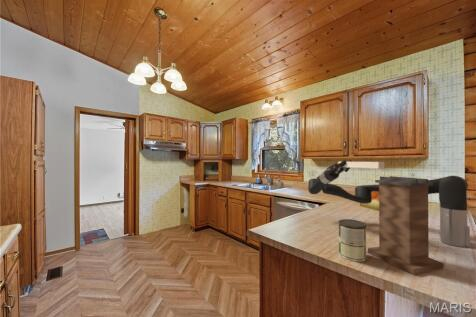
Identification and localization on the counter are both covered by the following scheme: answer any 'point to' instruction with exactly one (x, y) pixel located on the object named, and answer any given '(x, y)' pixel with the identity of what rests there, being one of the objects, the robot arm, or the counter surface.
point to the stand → (404, 224)
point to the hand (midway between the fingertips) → (348, 161)
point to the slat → (365, 165)
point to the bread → (373, 201)
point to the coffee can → (352, 240)
